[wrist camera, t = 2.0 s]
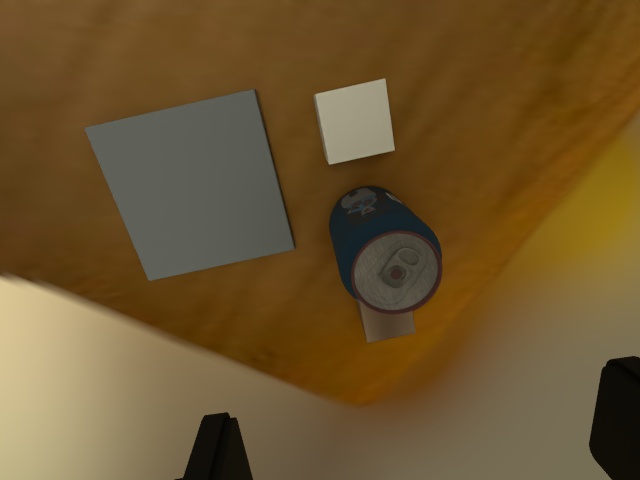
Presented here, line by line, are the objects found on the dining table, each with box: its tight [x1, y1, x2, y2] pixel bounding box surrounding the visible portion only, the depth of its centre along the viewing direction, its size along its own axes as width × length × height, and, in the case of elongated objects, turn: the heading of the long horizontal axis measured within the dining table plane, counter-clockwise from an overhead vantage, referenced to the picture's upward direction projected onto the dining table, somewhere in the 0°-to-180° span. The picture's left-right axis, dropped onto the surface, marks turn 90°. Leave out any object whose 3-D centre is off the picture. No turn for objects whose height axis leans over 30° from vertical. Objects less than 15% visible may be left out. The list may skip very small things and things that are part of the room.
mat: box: [84, 89, 295, 281], centre depth 31 cm, size 14×14×1 cm
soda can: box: [329, 186, 442, 315], centre depth 28 cm, size 7×7×12 cm
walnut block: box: [357, 300, 415, 343], centre depth 34 cm, size 4×4×4 cm
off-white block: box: [313, 79, 395, 165], centre depth 28 cm, size 5×5×5 cm
